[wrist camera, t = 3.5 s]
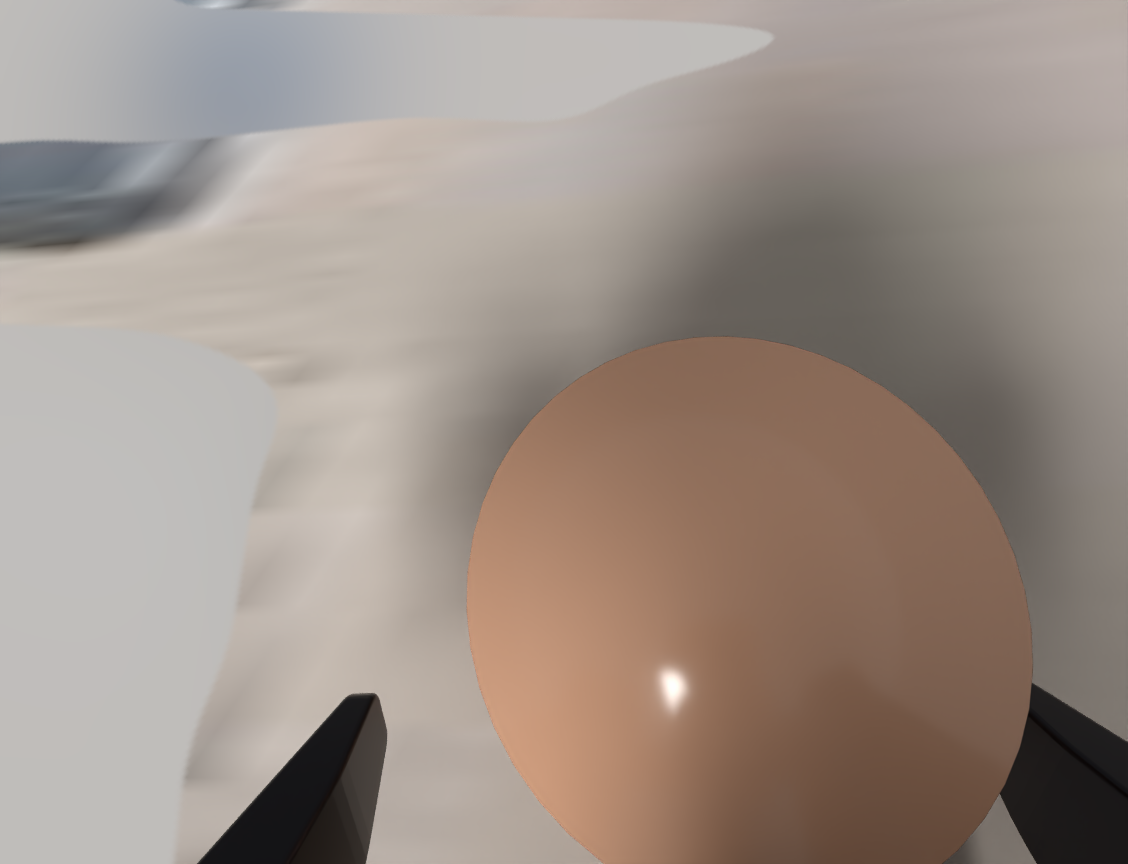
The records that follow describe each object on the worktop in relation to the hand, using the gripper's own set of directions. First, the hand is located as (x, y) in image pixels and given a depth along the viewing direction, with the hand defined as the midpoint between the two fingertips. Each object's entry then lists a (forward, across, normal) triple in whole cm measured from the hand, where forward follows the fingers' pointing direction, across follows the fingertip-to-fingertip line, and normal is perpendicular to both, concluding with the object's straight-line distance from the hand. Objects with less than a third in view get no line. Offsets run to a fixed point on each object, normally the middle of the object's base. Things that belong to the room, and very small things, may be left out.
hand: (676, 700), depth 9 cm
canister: (+7, 0, +5) cm, 9 cm away
